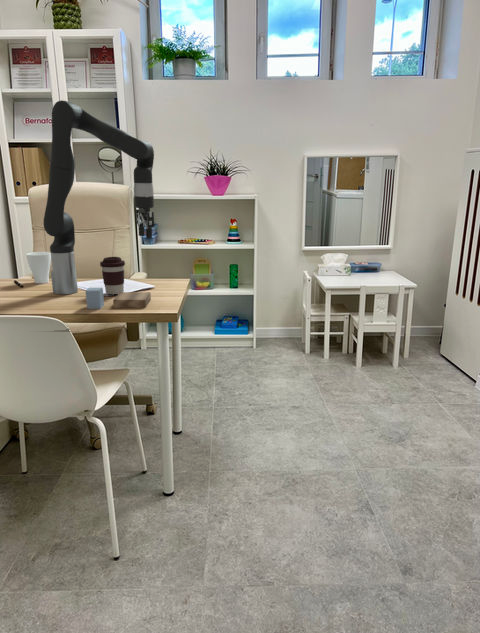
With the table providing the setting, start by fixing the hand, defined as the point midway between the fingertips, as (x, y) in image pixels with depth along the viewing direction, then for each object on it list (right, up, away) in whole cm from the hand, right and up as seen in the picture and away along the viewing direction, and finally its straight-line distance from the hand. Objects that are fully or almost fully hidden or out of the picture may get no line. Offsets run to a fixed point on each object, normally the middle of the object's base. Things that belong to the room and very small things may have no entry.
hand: (145, 237), depth 191 cm
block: (-17, -28, -10) cm, 34 cm away
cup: (-54, -16, +32) cm, 65 cm away
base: (-4, -27, -5) cm, 27 cm away
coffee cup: (-15, -22, +12) cm, 29 cm away
